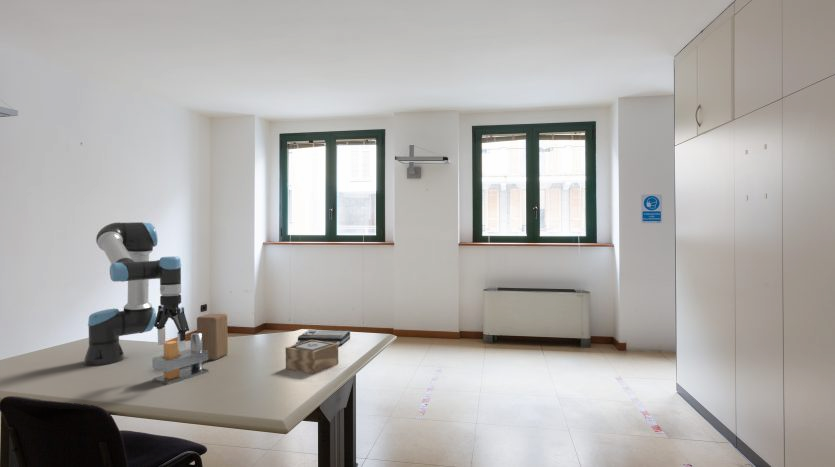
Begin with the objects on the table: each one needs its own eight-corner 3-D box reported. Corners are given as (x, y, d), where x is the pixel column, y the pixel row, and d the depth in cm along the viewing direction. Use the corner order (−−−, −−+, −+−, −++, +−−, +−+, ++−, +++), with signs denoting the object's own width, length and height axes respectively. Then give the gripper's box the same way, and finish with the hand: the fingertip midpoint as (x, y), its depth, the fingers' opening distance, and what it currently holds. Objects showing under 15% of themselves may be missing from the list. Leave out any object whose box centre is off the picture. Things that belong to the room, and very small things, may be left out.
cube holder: (285, 368, 197) (285, 347, 197) (311, 358, 211) (311, 339, 210) (313, 373, 189) (313, 352, 189) (338, 363, 203) (338, 343, 202)
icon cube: (295, 369, 195) (295, 346, 195) (312, 363, 204) (311, 341, 204) (313, 373, 190) (312, 349, 190) (329, 366, 199) (328, 344, 199)
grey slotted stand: (152, 380, 183) (152, 340, 182) (194, 368, 198) (193, 331, 198) (167, 384, 178) (166, 343, 177) (208, 371, 193) (208, 334, 193)
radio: (350, 329, 250) (339, 338, 230) (350, 338, 250) (339, 348, 230) (307, 328, 253) (293, 337, 233) (308, 337, 253) (293, 347, 233)
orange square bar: (164, 377, 184) (163, 342, 184) (173, 374, 187) (173, 340, 187) (169, 378, 182) (169, 344, 182) (179, 376, 185) (178, 341, 185)
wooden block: (215, 360, 209) (214, 317, 209) (196, 359, 211) (195, 317, 211) (228, 354, 219) (228, 313, 219) (210, 353, 221) (209, 313, 221)
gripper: (144, 293, 187) (144, 344, 187) (180, 298, 175) (181, 352, 175) (161, 291, 194) (162, 340, 194) (198, 295, 181) (199, 348, 181)
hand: (171, 346), depth 184 cm, fingers open, 13 cm apart
